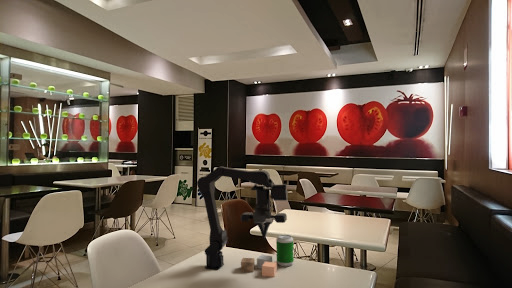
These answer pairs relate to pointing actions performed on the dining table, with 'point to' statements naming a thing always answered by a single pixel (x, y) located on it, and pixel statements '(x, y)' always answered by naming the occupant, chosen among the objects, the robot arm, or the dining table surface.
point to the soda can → (285, 250)
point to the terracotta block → (269, 269)
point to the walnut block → (247, 265)
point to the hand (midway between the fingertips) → (264, 237)
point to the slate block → (263, 260)
